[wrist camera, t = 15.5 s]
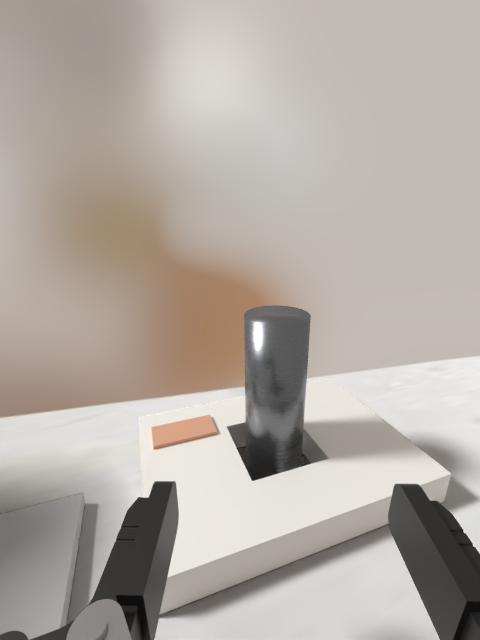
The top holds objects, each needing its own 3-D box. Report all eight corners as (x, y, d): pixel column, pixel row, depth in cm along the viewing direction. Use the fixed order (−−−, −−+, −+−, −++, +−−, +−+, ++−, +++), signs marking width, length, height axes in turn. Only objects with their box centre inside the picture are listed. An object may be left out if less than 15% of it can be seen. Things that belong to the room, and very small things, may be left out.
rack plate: (152, 617, 16) (145, 580, 15) (141, 439, 28) (137, 413, 27) (444, 501, 22) (452, 470, 21) (328, 397, 34) (330, 375, 33)
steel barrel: (236, 478, 24) (232, 320, 20) (258, 442, 28) (259, 303, 24) (291, 499, 22) (300, 329, 18) (306, 458, 26) (317, 309, 22)
